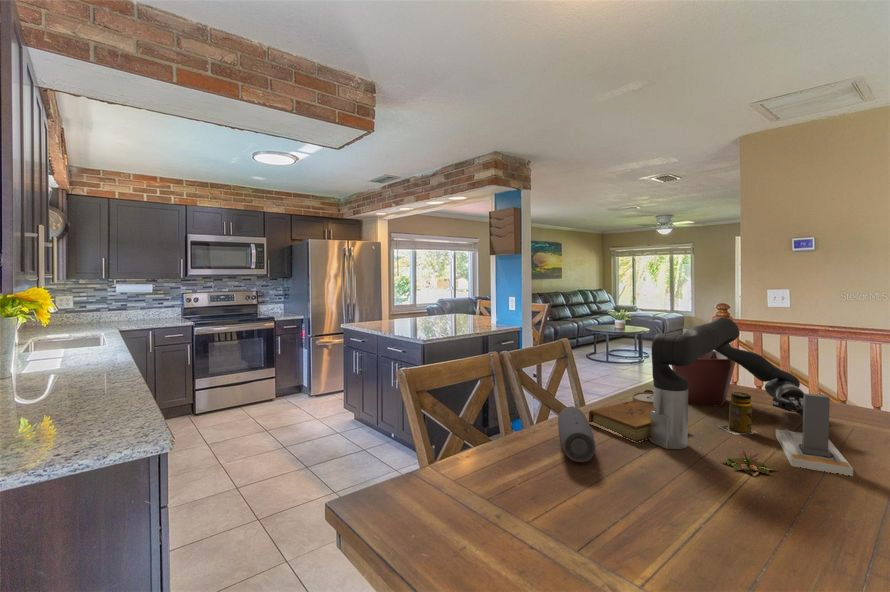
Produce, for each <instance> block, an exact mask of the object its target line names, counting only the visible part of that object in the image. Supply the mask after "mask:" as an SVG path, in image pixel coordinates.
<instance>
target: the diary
mask: <svg viewBox="0 0 890 592" xmlns="http://www.w3.org/2000/svg"><path fill="white" fill-rule="evenodd" d="M651 411H653V405H651V404H647V403H644V402H640V401H637V400H634V401H633V400H631V401H625V402H620V403H616V404H613V405H608V406H604V407H599V408H596V409H591V410H589V411H588V423H589V422H594V423H596V424H598V425H600V426H603V427H605V428H607V429H610V430H612V431H614V432H617V433H619V434H621V435H622V436H623V437H625V438H628V439H630V440H633V441H635V442H638V443H640V442H639V441H642V440H645V441H647V440H646V439H648V440H650V439H649V438H650V437H651ZM630 440H629V441H630ZM635 442H634V443H635ZM642 442H643V441H642Z"/></svg>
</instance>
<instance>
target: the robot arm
mask: <svg viewBox="0 0 890 592" xmlns="http://www.w3.org/2000/svg"><path fill="white" fill-rule="evenodd" d="M739 336H740V328H739V326H738V325H737V324H736V322H734V321H733V320H732V319H730V318H729V317H725V316H720V317H717V318H716V319H714V320H712V321H710V322H709V323H708V322H707V323H704V324H703V323H702V324H701V325H695V326H694V327H690V328H688V329H687V330H686V331H684V332H683V334H674V333H662V332H661V333H660V332H659V333H657V334H655V335H654V337H653V339H652V341H651V364H652V365H651V366H652V368H651V370H652V371H651V372H652V380H653V392H654V394H653V411H651V437H650V439H649V440H650V442H651V443H653V444H655V445H656V446H660V448H661V447H662V448H664V449H666V450H668V449H669V450H670V449H671V450H682V449H683V450H684V449H686V448H687V447H688V435H689V434H688V430H689V428H688V424H689V423H688V421H689V418H688V416H689V414H688V413H689V412H688V411H689V402H688V380H687V379H686V378H685V377H683V376H681V375H679V374H677V373H676V372H674V371H673V370H672V367H671V366H672V365H674V366H688V365H690V364H692V363H693V362H694V361H695V360H696V359H697V358H699V357H700V356H702V355H704V354H707V353H709V352H711V351H717V352H719V353H720V354H722V355H724V356H725V357H727V358H729V359H731V360H732V361H734V362H735V364H738V365H739V366H741V367H742V368H744V369H745V370H746V371H748V372H749V373H750V374H752V376H754V377H755V378H756V379H758V380H759V381H761V382H765V384H764V390H765V392H766V393H767V394H768V395H769V396H770V397H772V406H773V407H775V408H778V409H781V410H784V411H787V412H791V413H796V414H797V415H799V416H801V417H803V401H804V393H805V392H804V391H803V390H802V389H801V388H800V387H801V381H800V380H799V379H798V377H796V376H795V375H793V374H792V373H790V372H788V371H786V370H782V369H781V368H778V367H777V366H775V365H773V364H772V363H771V361H769V360H767V359H766V358H765V357H763V356H762V355H760V354H758V353H756V352H752V351H748V350H744V349H739V348H736V347H733V346H731V347H730V346H728V345H727V344H728V343H729V344H730V343H732V342H734V341H735V340H737V339H738V338H739Z"/></svg>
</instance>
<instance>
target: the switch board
mask: <svg viewBox="0 0 890 592" xmlns="http://www.w3.org/2000/svg"><path fill="white" fill-rule="evenodd" d="M802 436H803V432H799V431H798V432H797V431H790V430H789V429H784V430H783V429H777V428H776V429H775V437H776V439H777V441H778V443H779V445H780V446H781V448H782V451H783V453H784V454H785V456H786V458H787V460H788V462H789V464H790V466H791V467H794V468H795V467H796V468H800V467H801V468H800V469H806V468H807V469H808V470H813V471H818V472H824V471H825V472H824V473H830V472H831V473H832V474H836V473H839V474H838V475H842V474H844V475H843V476H848V475H850V476H849V477H854V468H853V467H852V466H851V465H852V464H850V463H849V462H848V460H847V459H846V458H845V457H844V456H843V454H842V453H841V452H840V451H839V449H838V448H837V447H836V446H835V445H834V444H833V443H832V441H831V440H830V439H829V440H828V449H829V450H830V451H831V453H832V457H826V456H819V455H813V454H806V453H802V451H801V449H800V448H799V443H800V444H802Z"/></svg>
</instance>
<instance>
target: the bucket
mask: <svg viewBox="0 0 890 592" xmlns="http://www.w3.org/2000/svg"><path fill="white" fill-rule="evenodd" d="M727 345H728V346H730V347H732V345H731V344H730V343H728V344H727ZM735 366H736V362H734V361H732V360H731V359H729V358H727V357H725V356H724V355H722V354H720V353H719V352H717V351H715V350H713V351H711V352H709V353H707V354H704V355H702V356H700V357H699V358H697V359H696V360H695V361H694V362H693V363H692V364H690V365H688V366H674V365H671V369H672V370H673V371H674V372H676V373H677V374H679V375H681V376H683V377H685V378H686V379H687V380H688V403H689V402H690V404H693V403H694V405H697V404H698V406H708V405H721V406H723V404H725V402H727V398H728V397H727V396H728V393H729V390H730V386H731V385H730V384H731V381H732V379H733V378H732V377H733V373H734V369H735Z"/></svg>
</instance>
